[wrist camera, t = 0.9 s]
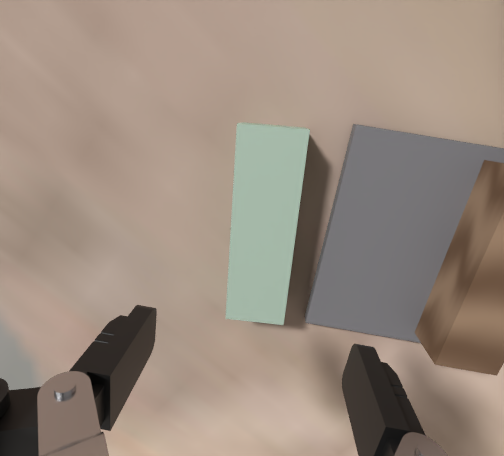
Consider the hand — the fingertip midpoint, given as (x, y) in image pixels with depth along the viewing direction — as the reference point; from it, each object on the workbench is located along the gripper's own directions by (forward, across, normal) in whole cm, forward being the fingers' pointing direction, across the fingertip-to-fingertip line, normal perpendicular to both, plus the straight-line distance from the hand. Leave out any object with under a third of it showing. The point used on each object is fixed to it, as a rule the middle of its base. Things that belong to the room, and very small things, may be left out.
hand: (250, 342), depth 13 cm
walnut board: (+15, -18, 0) cm, 23 cm away
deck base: (+16, -13, 0) cm, 21 cm away
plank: (+16, 0, 0) cm, 16 cm away
